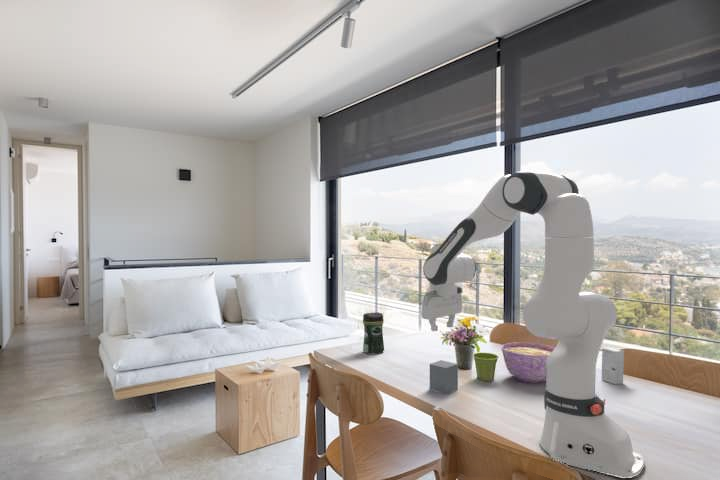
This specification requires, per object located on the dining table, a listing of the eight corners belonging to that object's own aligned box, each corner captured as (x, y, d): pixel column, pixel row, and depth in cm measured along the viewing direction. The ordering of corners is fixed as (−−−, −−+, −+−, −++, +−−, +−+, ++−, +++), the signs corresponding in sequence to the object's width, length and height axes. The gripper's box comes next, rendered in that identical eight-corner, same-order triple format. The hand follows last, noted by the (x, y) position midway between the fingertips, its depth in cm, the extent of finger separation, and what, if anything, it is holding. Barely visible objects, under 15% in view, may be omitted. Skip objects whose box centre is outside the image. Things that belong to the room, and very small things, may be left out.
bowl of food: (568, 388, 152) (568, 355, 152) (512, 388, 152) (512, 355, 152) (544, 371, 172) (544, 342, 172) (494, 371, 172) (494, 342, 172)
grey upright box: (457, 389, 151) (457, 364, 151) (446, 394, 146) (446, 368, 146) (441, 384, 156) (441, 360, 156) (429, 389, 151) (429, 364, 151)
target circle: (460, 388, 152) (460, 388, 152) (445, 395, 145) (445, 394, 145) (439, 382, 158) (439, 382, 158) (424, 388, 152) (424, 388, 152)
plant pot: (500, 383, 157) (499, 359, 157) (473, 381, 159) (473, 358, 159) (497, 375, 166) (497, 353, 166) (472, 374, 168) (472, 352, 168)
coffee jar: (379, 349, 208) (378, 310, 208) (386, 353, 200) (386, 313, 200) (360, 351, 204) (360, 312, 204) (367, 355, 196) (367, 314, 197)
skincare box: (600, 379, 161) (600, 347, 161) (610, 378, 162) (610, 346, 162) (615, 385, 155) (614, 351, 155) (624, 383, 156) (624, 350, 157)
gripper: (431, 293, 142) (432, 334, 142) (465, 288, 157) (465, 326, 157) (416, 291, 147) (416, 331, 147) (450, 286, 161) (450, 323, 161)
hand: (442, 328), depth 152 cm, fingers open, 8 cm apart
